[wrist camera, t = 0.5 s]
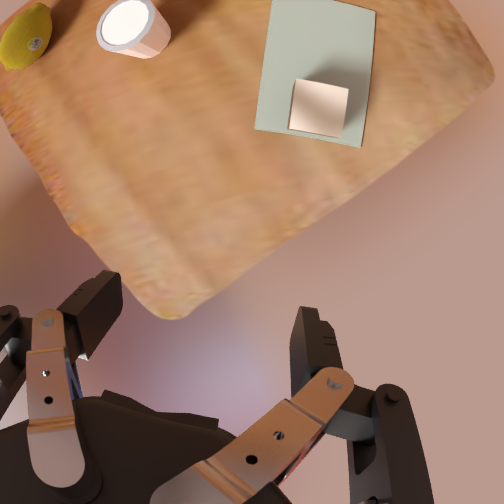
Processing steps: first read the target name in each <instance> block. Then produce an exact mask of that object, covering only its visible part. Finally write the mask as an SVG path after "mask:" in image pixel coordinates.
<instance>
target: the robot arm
mask: <svg viewBox="0 0 504 504" xmlns="http://www.w3.org/2000/svg"><path fill="white" fill-rule="evenodd" d="M122 307H123V298H122V287H121V276H120V274H119V273H117V272H113V271H108V270H103V271H102V272H101V273H100V274H99V275H98V276H96V277H95V278H91V279H89V280H87V281H85V282H84V283H82V284H81V285H80V286H79V287H78V288H77V290H75V291H74V292H73V293H72V294H71V295H70V296H69V297H68V298H67V299H66V300H65V301H64V302H63V303H62V304H61V305H60V306H59V307H58V308H57V309H56V310H55V309H46V310H42V311H40V312H38V313H37V314H36V315H35V316H34V317H33V318H26V317H21V316H20V313H19V310H18V308H17V307H15V306H12V305H6V306H3V307H0V351H1V350H2V349H3V348H5V351H6V353H7V356H6V357H5V358H4V360H3V361H2V362H1V363H0V420H1V418H2V416H3V415H4V413H5V412H6V410H7V408H8V407H9V405H10V403H11V402H12V400H13V399H14V397H15V396H16V394H17V392H18V391H19V389H20V388H21V386H22V385H23V383H24V382H25V380H26V381H27V382H26V384H27V401H28V414H29V419H27V420H25V421H23V422H20V423H17V424H15V425H12V426H10V427H7V428H4V429H2V430H0V504H292V503H291V502H290V501H289V499H288V498H287V497H286V496H285V495H284V494H283V492H282V491H281V490H280V489H279V487H278V486H279V485H280V484H281V483H282V482H283V481H284V480H285V479H286V478H287V477H288V476H289V475H290V474H291V473H292V472H293V471H294V469H295V468H296V467H297V466H298V465H299V464H300V462H301V461H302V460H303V459H304V458H305V457H306V456H307V455H308V454H309V452H310V451H311V450H312V449H313V448H314V447H315V446H316V444H317V443H318V442H319V441H320V440H321V438H322V437H323V436H324V435H325V434H326V433H327V434H330V435H333V436H336V437H340V438H343V439H347V452H348V466H349V484H350V504H434V499H433V494H432V489H431V483H430V479H429V475H428V469H427V465H426V461H425V457H424V452H423V448H422V444H421V440H420V436H419V433H418V429H417V425H416V421H415V418H414V414H413V411H412V408H411V405H410V401H409V398H408V395H407V394H406V392H405V391H404V390H403V389H401V388H400V387H398V386H396V385H393V384H383V385H380V386H379V387H378V388H377V389H376V391H372V390H369V389H366V388H362V387H359V386H357V385H355V384H354V380H353V378H352V377H351V375H350V374H349V373H347V372H346V371H344V370H343V366H342V362H341V357H340V353H339V349H338V346H337V341H336V336H335V333H334V329H333V328H332V327H331V325H330V324H329V323H328V322H327V321H321V320H320V318H319V313H318V310H317V308H311V307H303V306H300V307H299V309H298V313H297V316H296V320H295V324H294V327H293V330H292V334H291V338H290V347H289V348H290V370H291V371H290V372H291V399H290V400H287V399H283V400H282V401H280V402H279V403H278V404H277V405H276V406H275V407H274V408H272V409H271V410H270V411H269V412H268V413H266V414H265V415H264V416H263V417H262V418H261V419H259V420H258V421H257V422H256V423H254V424H253V425H252V426H251V427H250V428H248V429H247V430H246V431H245V432H243V433H242V434H241V435H240V436H238V437H236V436H234V435H233V434H231V433H229V432H227V431H225V430H223V429H221V428H219V427H218V422H219V419H216V418H210V417H205V416H200V415H195V414H191V413H166V412H165V413H164V412H156V411H154V410H152V409H150V408H148V407H146V406H144V405H142V404H141V403H138V402H137V401H135V400H133V399H132V398H130V397H126V396H123V395H120V394H117V393H114V392H111V391H108V390H104V392H103V394H102V396H101V397H99V396H97V397H96V396H91V397H83V393H82V389H81V384H80V379H79V374H78V369H77V364H76V359H77V358H78V357H80V358H82V359H85V360H88V359H89V357H90V356H91V355H92V353H93V352H94V350H95V349H96V348H97V346H98V345H99V343H100V342H101V340H102V339H103V338H104V336H105V335H106V333H107V332H108V330H109V329H110V328H111V326H112V325H113V323H114V322H115V321H116V319H117V318H118V317H119V315H120V313H121V311H122Z"/></svg>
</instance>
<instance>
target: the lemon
mask: <svg viewBox="0 0 504 504" xmlns="http://www.w3.org/2000/svg"><path fill="white" fill-rule="evenodd" d="M51 33H52V20H51V17H50V8H49V7H47V6H46V5H44V4H42V3H37V4H35V5H34V6H32V7H31V8H29V9H27V10H26V11H25V12H23V13H22V14H20V15H19V16H18V17H17V18H16V19H15V20H14V21H13V22H12V23H11V25H10V26H9V27H8V28H7V30H6V32H5V33H4V35H3V37H2V40H1V42H0V60H1V62H2V63H3V64H4V65H5V69H6V70H8V71H11V70H13V69H22V68H26V67H28V66H29V65H31V64H33V63H34V62H35V61H36V60H37V59H38V58H39V57H40V56H41V55H42V54H43V52H44V51H45V49H46V47H47V45H48V43H49V40H50V37H51Z"/></svg>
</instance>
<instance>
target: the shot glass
mask: <svg viewBox="0 0 504 504" xmlns="http://www.w3.org/2000/svg"><path fill="white" fill-rule="evenodd" d="M96 37H97V40H98V43H99V45H100V46H102V47H103V48H104V49H105V50H108V51H113V52H117V53H122V54H126V55H131V56H135V57H139V58H144V59H145V58H150V57H153V56H155V55H157V54H159V53H161V52H162V51H163V50H164V48H165V47H166V46H167V45H168V43H169V41H170V38H171V30H170V27H169V25H168V23H167V22H166V21H165V19H164V18H163V17H162V15H161V14H160V13H159V11H158V10H157V9H156V7H155V6H154V5H153V3H152V2H151V1H150V0H119V1H117V2H116V3H114V4H112V5H111V6H110V7H109V8H108V9H107V10H106V11H105V13H104V14H103V15H102V17H101V19H100V21H99V23H98V25H97V32H96Z"/></svg>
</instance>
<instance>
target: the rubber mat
mask: <svg viewBox="0 0 504 504" xmlns="http://www.w3.org/2000/svg"><path fill="white" fill-rule="evenodd" d="M374 28H375V11H372V10H369V9H365V8H362V7H358V6H354V5H351V4H347V3H343V2H338V1H334V0H272V6H271V13H270V20H269V27H268V34H267V41H266V48H265V55H264V62H263V69H262V76H261V83H260V91H259V98H258V105H257V113H256V120H255V128H254V129H256V130H264V131H271V132H278V133H285V134H291V135H297V136H303V137H309V138H315V139H320V140H325V141H330V142H335V143H340V144H345V145H349V146H354V147H358V148H361V142H362V136H363V129H364V123H365V116H366V109H367V101H368V93H369V85H370V76H371V66H372V55H373V43H374ZM296 79H302V80H308V81H313V82H319V83H324V84H328V85H333V86H338V87H342V88H346V89H349V90H348V98H347V105H346V113H345V119H344V126H343V133H342V138H333V137H327V136H322V135H317V134H312V133H306V132H300V131H294V130H288V129H287V125H288V118H289V111H290V104H291V96H292V89H293V85H294V83H295V80H296Z"/></svg>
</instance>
